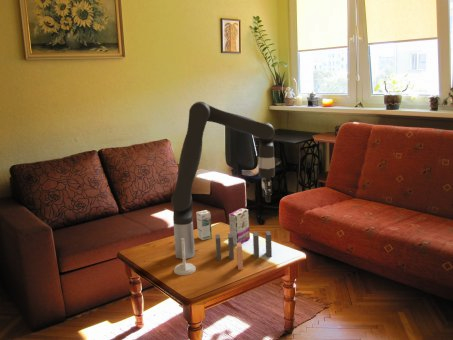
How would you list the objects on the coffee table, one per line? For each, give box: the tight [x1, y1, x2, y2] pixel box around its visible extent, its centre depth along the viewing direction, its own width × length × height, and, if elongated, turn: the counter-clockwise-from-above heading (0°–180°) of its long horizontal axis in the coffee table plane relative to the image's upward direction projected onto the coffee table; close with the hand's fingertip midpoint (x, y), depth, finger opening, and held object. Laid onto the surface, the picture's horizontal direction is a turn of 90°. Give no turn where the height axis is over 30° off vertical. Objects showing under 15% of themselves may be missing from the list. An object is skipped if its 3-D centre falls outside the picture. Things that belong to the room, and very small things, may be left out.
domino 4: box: [252, 231, 260, 259], centre depth 226 cm, size 2×5×11 cm, turn 4°
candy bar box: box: [228, 207, 251, 247], centre depth 243 cm, size 11×5×16 cm, turn 143°
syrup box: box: [195, 209, 213, 241], centre depth 251 cm, size 6×6×14 cm
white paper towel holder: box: [173, 238, 197, 276], centre depth 213 cm, size 10×10×15 cm
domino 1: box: [214, 234, 222, 261], centre depth 225 cm, size 2×5×11 cm, turn 4°
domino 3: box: [236, 243, 244, 271], centre depth 214 cm, size 2×5×11 cm, turn 4°
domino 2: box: [227, 233, 235, 261], centre depth 225 cm, size 2×5×11 cm, turn 4°
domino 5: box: [264, 230, 273, 258], centre depth 226 cm, size 2×5×11 cm, turn 4°
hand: (266, 199), depth 224 cm, fingers open, 8 cm apart
